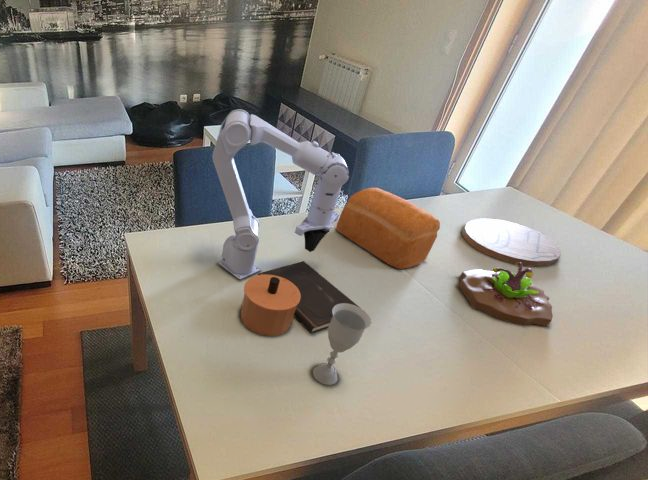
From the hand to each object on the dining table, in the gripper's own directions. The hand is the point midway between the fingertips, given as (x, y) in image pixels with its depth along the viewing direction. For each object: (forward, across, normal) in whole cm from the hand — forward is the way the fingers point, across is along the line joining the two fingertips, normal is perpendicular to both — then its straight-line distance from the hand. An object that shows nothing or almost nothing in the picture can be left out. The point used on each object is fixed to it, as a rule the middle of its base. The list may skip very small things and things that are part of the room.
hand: (309, 249), depth 109 cm
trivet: (+9, +70, -24) cm, 74 cm away
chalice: (+10, -23, -27) cm, 37 cm away
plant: (+9, +38, -36) cm, 53 cm away
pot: (+9, -21, -7) cm, 24 cm away
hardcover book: (+10, -6, -7) cm, 13 cm away
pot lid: (+1, -21, -7) cm, 22 cm away
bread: (+10, +34, -2) cm, 35 cm away
